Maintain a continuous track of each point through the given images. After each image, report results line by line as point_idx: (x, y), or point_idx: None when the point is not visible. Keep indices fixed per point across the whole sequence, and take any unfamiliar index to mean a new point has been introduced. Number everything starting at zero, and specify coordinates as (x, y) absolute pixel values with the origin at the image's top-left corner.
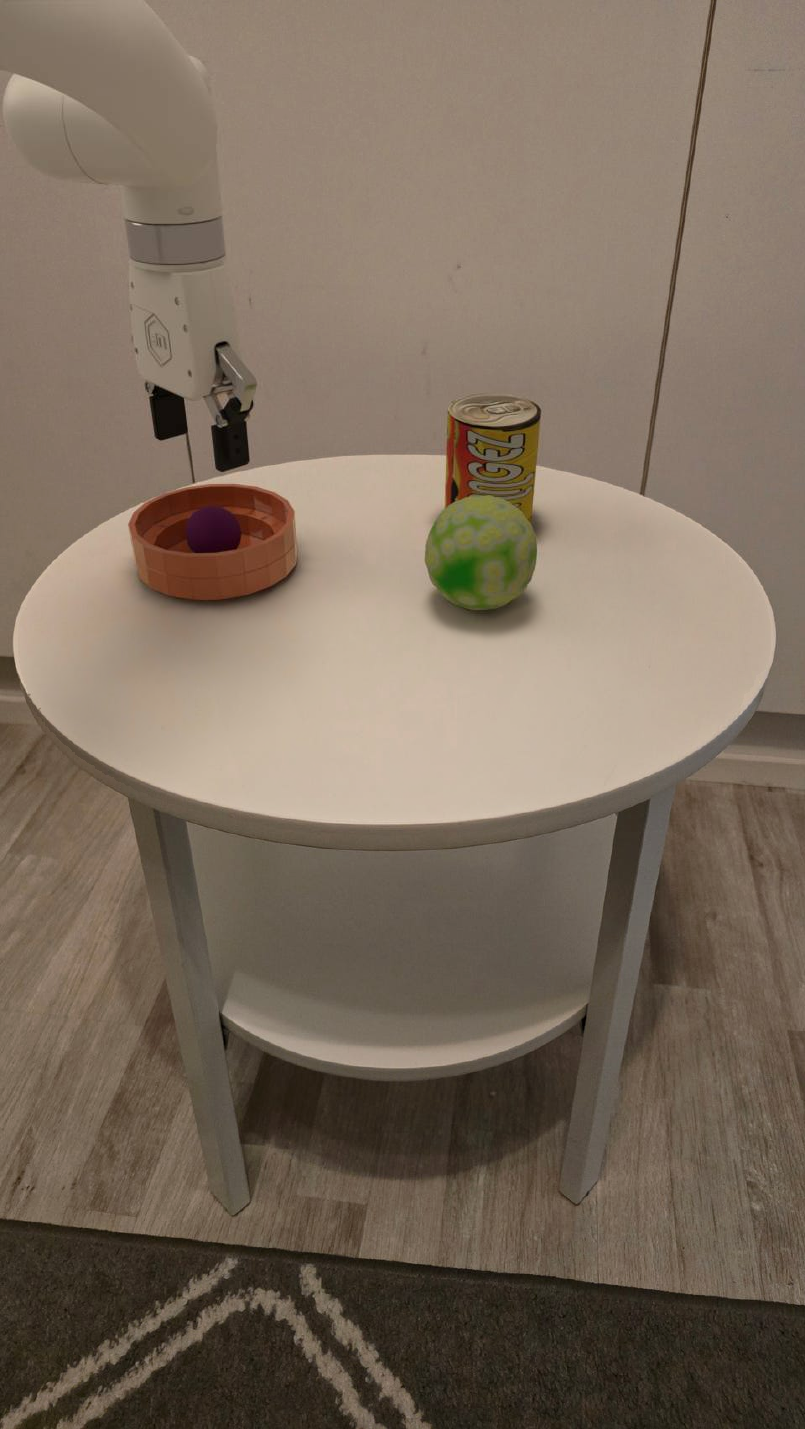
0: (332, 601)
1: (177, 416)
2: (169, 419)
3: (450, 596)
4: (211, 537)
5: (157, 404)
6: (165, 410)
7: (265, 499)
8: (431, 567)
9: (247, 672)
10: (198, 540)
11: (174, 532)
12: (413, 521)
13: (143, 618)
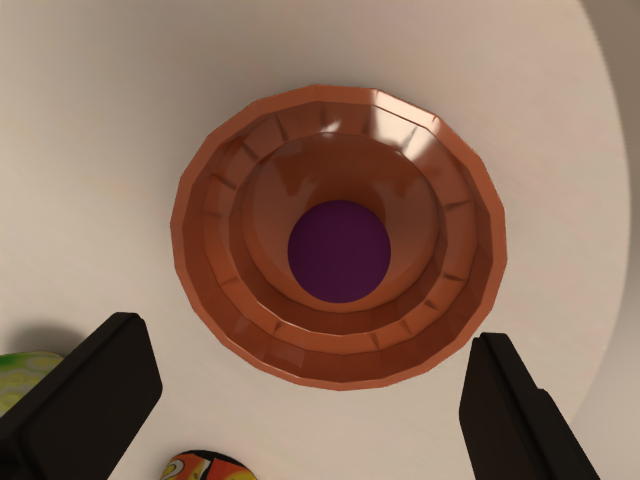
0: (150, 274)
1: (483, 454)
2: (486, 425)
3: (18, 353)
4: (296, 230)
5: (525, 467)
6: (505, 455)
7: (352, 371)
8: (8, 373)
9: (34, 74)
10: (316, 211)
11: (441, 221)
12: (268, 450)
13: (263, 25)
